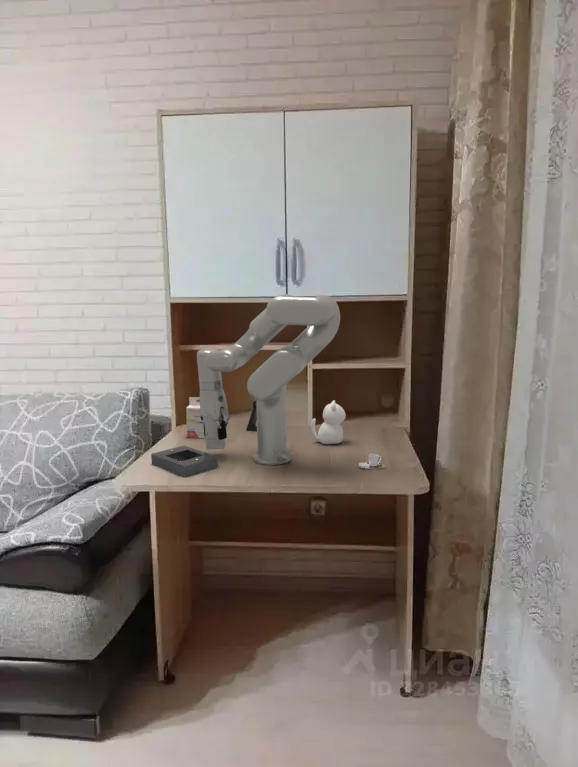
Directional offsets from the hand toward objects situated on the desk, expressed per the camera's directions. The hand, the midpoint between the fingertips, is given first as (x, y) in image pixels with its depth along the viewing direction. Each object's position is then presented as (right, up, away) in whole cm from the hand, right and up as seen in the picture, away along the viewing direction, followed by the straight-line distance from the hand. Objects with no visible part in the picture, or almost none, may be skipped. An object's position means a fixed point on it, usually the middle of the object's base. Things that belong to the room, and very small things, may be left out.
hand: (215, 436), depth 230 cm
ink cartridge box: (-9, -2, +26) cm, 27 cm away
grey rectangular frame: (-9, -9, -8) cm, 15 cm away
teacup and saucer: (+49, -9, -11) cm, 51 cm away
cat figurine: (+39, -3, +14) cm, 42 cm away
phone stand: (+13, 0, +34) cm, 36 cm away
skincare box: (0, -4, +1) cm, 4 cm away
